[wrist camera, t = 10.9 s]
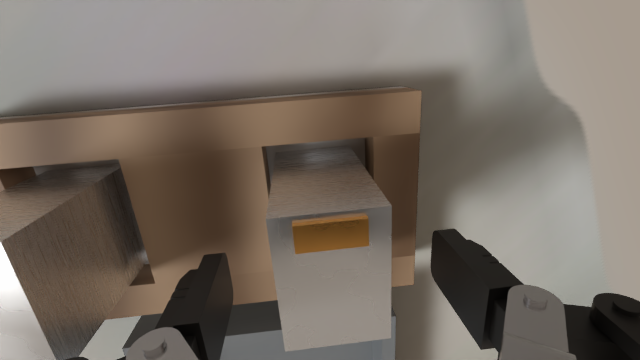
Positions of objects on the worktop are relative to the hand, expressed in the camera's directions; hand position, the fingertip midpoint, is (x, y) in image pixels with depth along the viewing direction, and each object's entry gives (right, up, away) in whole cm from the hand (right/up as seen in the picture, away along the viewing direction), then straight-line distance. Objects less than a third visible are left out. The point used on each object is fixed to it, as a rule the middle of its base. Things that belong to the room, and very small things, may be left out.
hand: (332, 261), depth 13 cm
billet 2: (-1, +2, +6) cm, 7 cm away
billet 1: (-12, +1, +5) cm, 14 cm away
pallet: (-7, +2, +7) cm, 10 cm away
